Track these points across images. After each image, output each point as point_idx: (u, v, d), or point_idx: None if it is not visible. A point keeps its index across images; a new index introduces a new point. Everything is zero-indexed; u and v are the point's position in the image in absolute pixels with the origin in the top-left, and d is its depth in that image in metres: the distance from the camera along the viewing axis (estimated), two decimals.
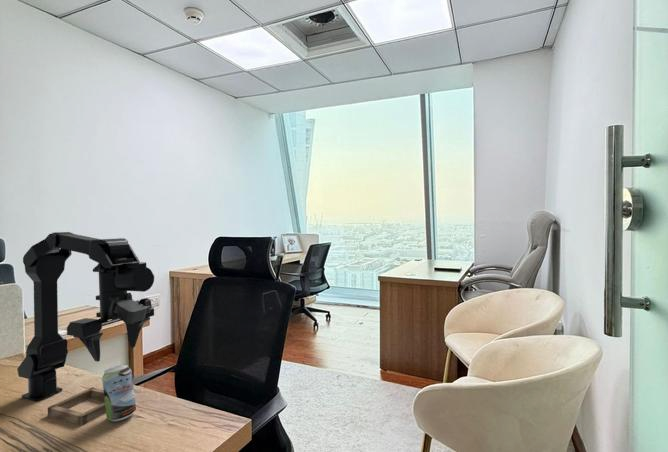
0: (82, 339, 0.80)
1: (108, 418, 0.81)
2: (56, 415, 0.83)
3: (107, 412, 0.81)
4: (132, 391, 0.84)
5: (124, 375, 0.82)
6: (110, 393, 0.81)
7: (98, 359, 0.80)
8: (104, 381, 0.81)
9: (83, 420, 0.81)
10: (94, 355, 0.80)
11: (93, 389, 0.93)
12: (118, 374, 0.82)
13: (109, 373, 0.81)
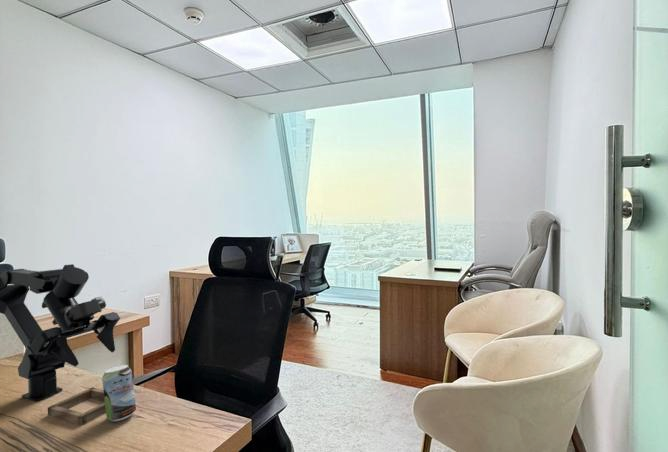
0: (53, 354, 0.82)
1: (108, 418, 0.81)
2: (56, 415, 0.83)
3: (107, 412, 0.81)
4: (132, 391, 0.84)
5: (124, 375, 0.82)
6: (110, 393, 0.81)
7: (76, 361, 0.82)
8: (104, 381, 0.81)
9: (83, 420, 0.81)
10: (70, 360, 0.82)
11: (93, 389, 0.93)
12: (118, 374, 0.82)
13: (109, 373, 0.81)
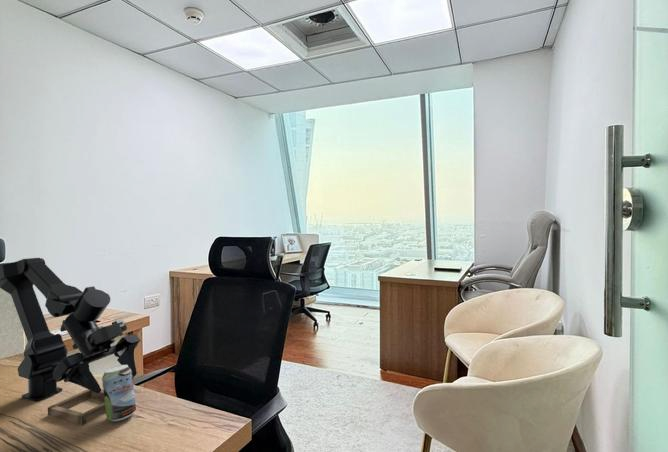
0: (75, 381, 0.79)
1: (108, 418, 0.81)
2: (56, 415, 0.83)
3: (107, 412, 0.81)
4: (132, 391, 0.84)
5: (124, 375, 0.82)
6: (110, 393, 0.81)
7: (99, 388, 0.79)
8: (104, 381, 0.81)
9: (83, 420, 0.81)
10: (93, 387, 0.79)
11: None
12: (118, 374, 0.82)
13: (109, 373, 0.81)
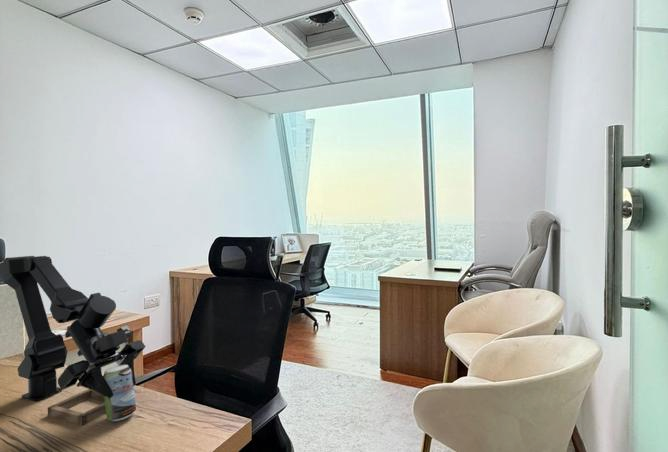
0: (87, 385, 0.80)
1: (108, 418, 0.81)
2: (56, 415, 0.83)
3: (107, 412, 0.81)
4: (132, 391, 0.84)
5: (124, 375, 0.82)
6: None
7: (111, 393, 0.80)
8: None
9: (83, 420, 0.81)
10: (105, 392, 0.80)
11: None
12: (118, 374, 0.82)
13: (109, 373, 0.81)
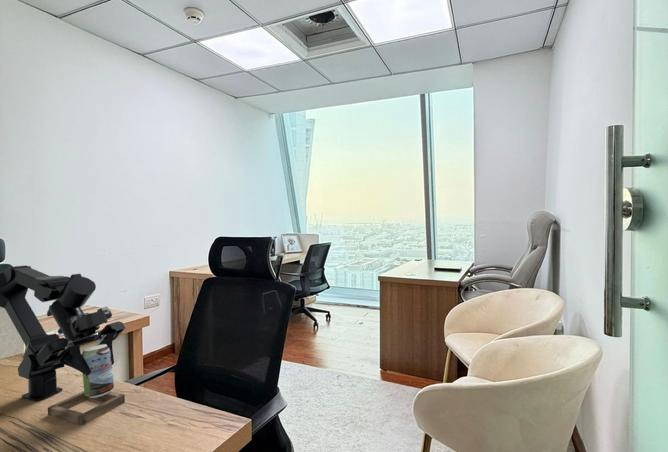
0: (66, 362, 0.83)
1: (86, 395, 0.83)
2: (56, 415, 0.83)
3: (85, 389, 0.84)
4: (110, 370, 0.86)
5: (102, 354, 0.85)
6: None
7: (89, 371, 0.83)
8: None
9: (83, 420, 0.81)
10: (83, 369, 0.83)
11: None
12: (97, 352, 0.84)
13: (87, 351, 0.84)
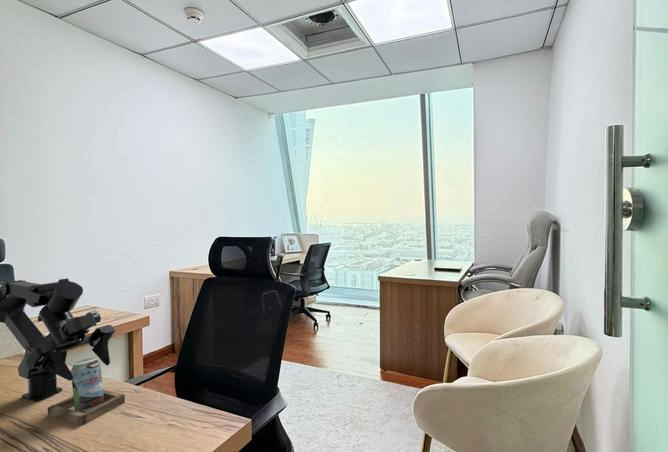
0: (48, 368, 0.83)
1: (76, 408, 0.85)
2: (56, 415, 0.83)
3: (75, 403, 0.85)
4: (99, 383, 0.88)
5: (92, 367, 0.87)
6: (78, 384, 0.85)
7: (71, 376, 0.82)
8: (72, 373, 0.85)
9: (83, 420, 0.81)
10: (65, 375, 0.82)
11: None
12: (86, 366, 0.86)
13: (77, 365, 0.86)
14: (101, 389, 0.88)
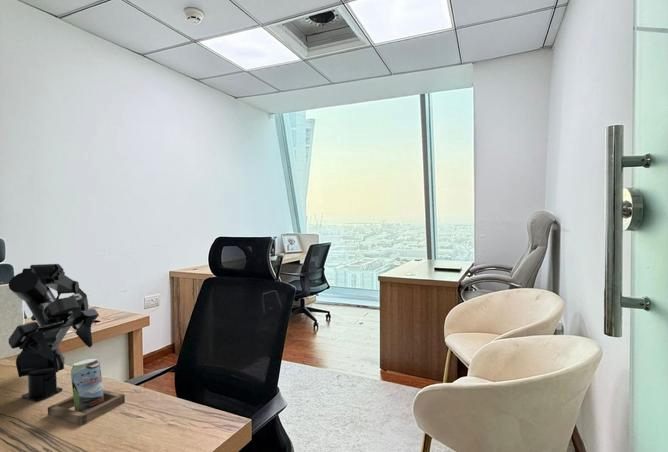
0: (30, 348, 0.85)
1: (76, 409, 0.85)
2: (56, 415, 0.83)
3: (75, 403, 0.85)
4: (99, 384, 0.88)
5: (91, 368, 0.86)
6: (78, 385, 0.85)
7: (52, 355, 0.84)
8: (72, 373, 0.85)
9: (83, 420, 0.81)
10: (47, 354, 0.84)
11: None
12: (86, 367, 0.86)
13: (77, 366, 0.85)
14: (101, 389, 0.88)
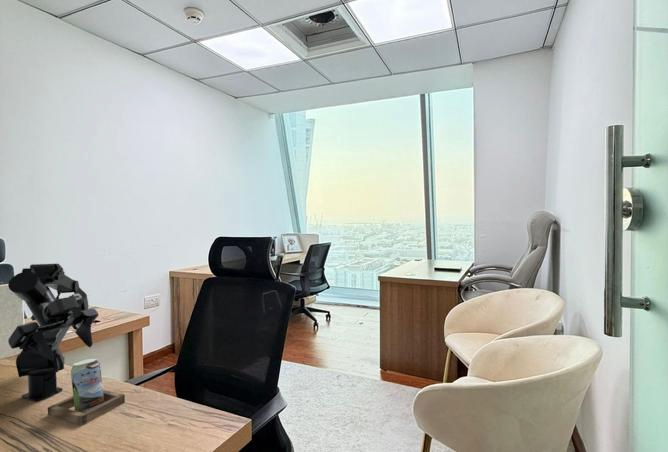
0: (30, 348, 0.85)
1: (76, 409, 0.85)
2: (56, 415, 0.83)
3: (75, 403, 0.85)
4: (99, 384, 0.88)
5: (91, 368, 0.86)
6: (78, 385, 0.85)
7: (52, 355, 0.84)
8: (72, 373, 0.85)
9: (83, 420, 0.81)
10: (47, 354, 0.84)
11: None
12: (86, 367, 0.86)
13: (77, 366, 0.85)
14: (101, 389, 0.88)
